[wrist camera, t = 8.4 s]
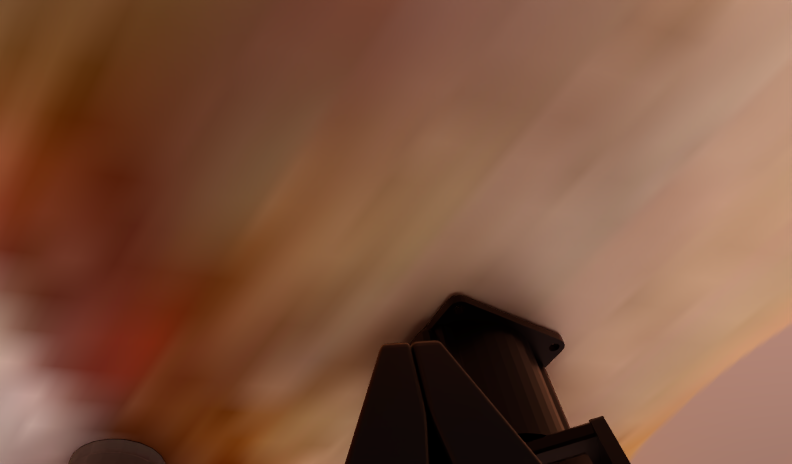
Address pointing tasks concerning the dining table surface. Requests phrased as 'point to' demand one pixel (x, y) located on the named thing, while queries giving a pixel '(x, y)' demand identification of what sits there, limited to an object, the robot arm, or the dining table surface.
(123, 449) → the beverage cup
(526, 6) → the dining table surface
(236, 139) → the dining table surface
